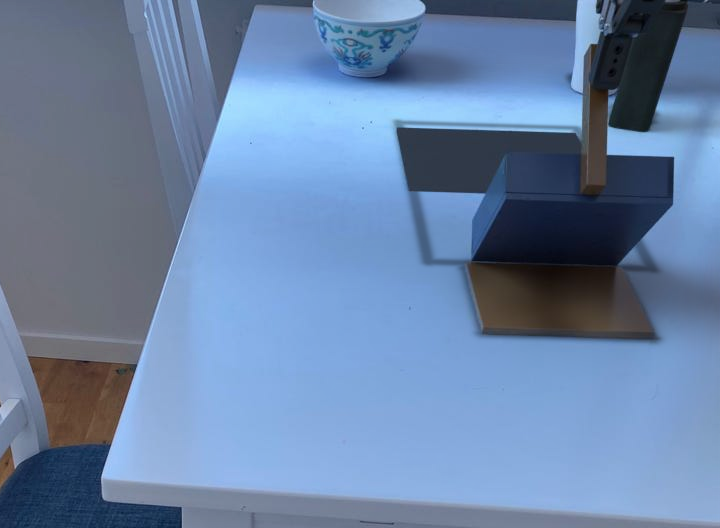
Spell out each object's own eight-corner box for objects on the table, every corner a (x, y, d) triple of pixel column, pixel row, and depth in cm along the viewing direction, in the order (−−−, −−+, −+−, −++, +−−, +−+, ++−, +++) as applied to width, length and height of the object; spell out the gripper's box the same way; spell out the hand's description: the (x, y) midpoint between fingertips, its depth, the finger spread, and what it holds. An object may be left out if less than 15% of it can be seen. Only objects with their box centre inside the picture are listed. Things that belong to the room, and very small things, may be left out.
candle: (648, 132, 117) (729, -123, 98) (606, 126, 118) (679, -127, 100) (652, 118, 120) (731, -131, 102) (611, 112, 121) (682, -135, 103)
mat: (574, 136, 116) (575, 132, 116) (650, 278, 92) (651, 274, 92) (396, 130, 116) (396, 127, 116) (425, 271, 92) (426, 267, 92)
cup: (646, 101, 124) (684, -20, 114) (571, 104, 123) (603, -19, 113) (613, 74, 131) (646, -43, 121) (542, 76, 130) (569, -41, 120)
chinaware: (356, 44, 138) (362, -18, 132) (438, 70, 131) (448, 6, 125) (286, 67, 131) (289, 2, 125) (369, 96, 124) (377, 29, 118)
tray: (616, 266, 90) (619, 139, 90) (682, 195, 77) (685, 46, 77) (470, 261, 90) (474, 134, 91) (510, 189, 77) (514, 40, 77)
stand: (616, 282, 91) (621, 266, 90) (648, 348, 83) (654, 332, 82) (462, 277, 91) (465, 261, 90) (479, 343, 83) (483, 326, 82)
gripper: (770, -182, 59) (671, 117, 72) (705, -208, 68) (627, 62, 81) (651, -185, 59) (573, 114, 72) (602, -211, 68) (540, 59, 81)
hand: (602, 86), depth 76 cm, fingers closed
